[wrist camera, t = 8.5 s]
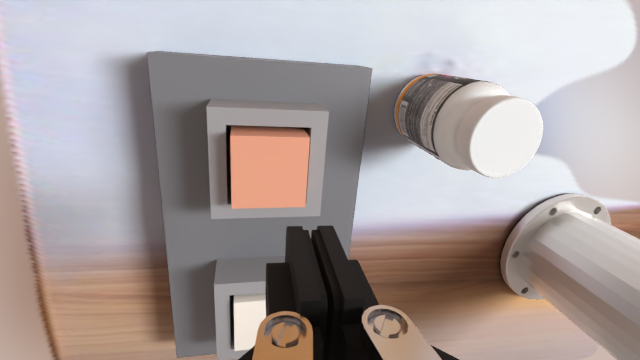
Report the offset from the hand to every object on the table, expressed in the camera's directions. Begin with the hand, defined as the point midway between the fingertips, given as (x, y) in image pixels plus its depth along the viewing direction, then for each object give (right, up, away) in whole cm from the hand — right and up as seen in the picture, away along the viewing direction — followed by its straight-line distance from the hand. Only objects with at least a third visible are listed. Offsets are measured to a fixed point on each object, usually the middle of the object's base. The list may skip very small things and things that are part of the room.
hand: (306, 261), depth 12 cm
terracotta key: (-3, +4, +10) cm, 11 cm away
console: (-4, 0, +16) cm, 17 cm away
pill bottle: (+9, +9, +16) cm, 20 cm away
